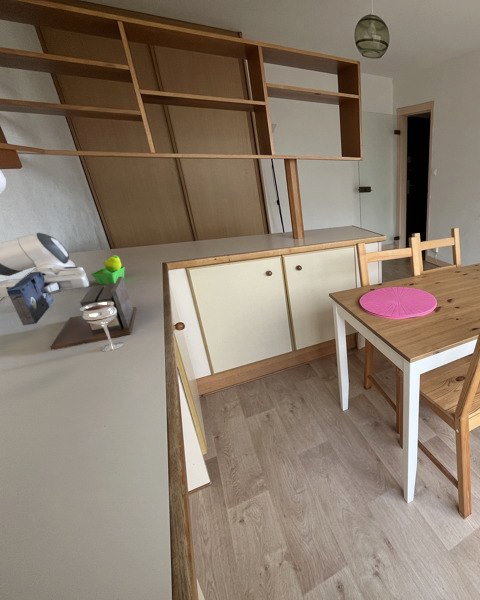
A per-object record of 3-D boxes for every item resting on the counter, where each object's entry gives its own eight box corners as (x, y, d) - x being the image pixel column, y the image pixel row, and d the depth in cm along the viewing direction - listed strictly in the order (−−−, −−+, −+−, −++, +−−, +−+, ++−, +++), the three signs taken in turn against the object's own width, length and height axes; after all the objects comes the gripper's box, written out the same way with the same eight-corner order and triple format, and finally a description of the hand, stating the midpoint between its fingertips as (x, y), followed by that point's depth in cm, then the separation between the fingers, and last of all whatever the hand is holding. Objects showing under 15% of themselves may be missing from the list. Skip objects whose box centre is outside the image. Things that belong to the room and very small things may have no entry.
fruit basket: (108, 278, 140) (99, 253, 135) (132, 276, 142) (124, 252, 138) (94, 286, 130) (84, 259, 125) (120, 284, 132) (111, 258, 128)
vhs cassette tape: (43, 302, 97) (29, 272, 93) (56, 301, 98) (44, 270, 94) (20, 326, 83) (3, 291, 79) (36, 324, 84) (20, 289, 80)
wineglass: (129, 346, 86) (115, 306, 81) (96, 355, 81) (79, 313, 77) (126, 338, 90) (113, 299, 86) (94, 346, 85) (78, 305, 81)
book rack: (51, 350, 83) (31, 305, 78) (71, 320, 100) (55, 281, 95) (130, 334, 92) (116, 293, 87) (136, 309, 109) (125, 273, 104)
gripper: (-3, 274, 95) (-25, 287, 84) (88, 266, 105) (79, 276, 95) (6, 294, 97) (-15, 309, 86) (94, 283, 108) (86, 295, 97)
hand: (35, 291), depth 91 cm, fingers closed on vhs cassette tape, 2 cm apart
